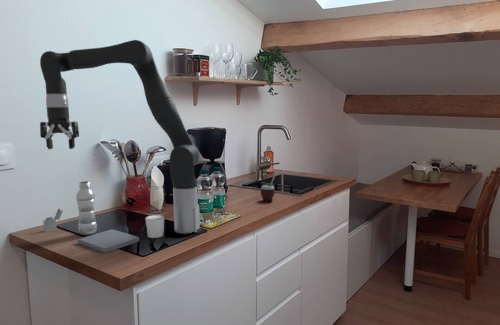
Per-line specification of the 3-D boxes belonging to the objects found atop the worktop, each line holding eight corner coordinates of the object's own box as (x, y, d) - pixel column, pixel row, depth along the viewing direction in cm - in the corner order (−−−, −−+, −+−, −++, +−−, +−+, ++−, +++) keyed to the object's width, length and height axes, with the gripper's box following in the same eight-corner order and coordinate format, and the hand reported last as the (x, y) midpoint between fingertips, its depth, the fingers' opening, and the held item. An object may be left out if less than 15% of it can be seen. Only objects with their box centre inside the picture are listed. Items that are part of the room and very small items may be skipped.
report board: (139, 241, 145) (139, 237, 145) (105, 252, 134) (105, 248, 134) (112, 232, 154) (111, 229, 154) (78, 243, 143) (77, 239, 143)
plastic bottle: (91, 237, 149) (87, 184, 146) (74, 236, 151) (71, 183, 148) (100, 231, 156) (97, 180, 153) (85, 230, 157) (81, 180, 154)
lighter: (45, 232, 156) (43, 212, 155) (43, 231, 157) (42, 211, 156) (64, 228, 161) (63, 208, 159) (63, 227, 162) (61, 207, 161)
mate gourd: (257, 200, 204) (257, 171, 202) (269, 198, 209) (270, 169, 207) (267, 203, 198) (267, 173, 196) (279, 201, 203) (279, 171, 201)
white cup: (157, 231, 156) (156, 213, 155) (168, 234, 152) (168, 216, 151) (142, 235, 151) (141, 217, 150) (153, 239, 147) (153, 221, 146)
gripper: (80, 106, 156) (83, 147, 158) (45, 106, 158) (49, 148, 160) (70, 106, 149) (73, 149, 151) (33, 106, 150) (37, 150, 152)
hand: (60, 148), depth 155 cm, fingers open, 8 cm apart
